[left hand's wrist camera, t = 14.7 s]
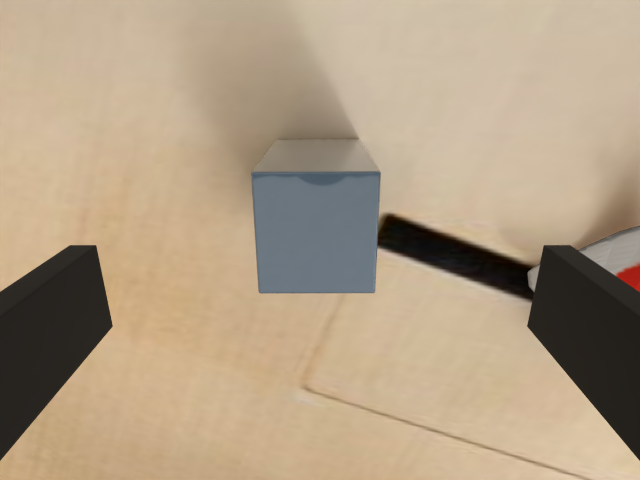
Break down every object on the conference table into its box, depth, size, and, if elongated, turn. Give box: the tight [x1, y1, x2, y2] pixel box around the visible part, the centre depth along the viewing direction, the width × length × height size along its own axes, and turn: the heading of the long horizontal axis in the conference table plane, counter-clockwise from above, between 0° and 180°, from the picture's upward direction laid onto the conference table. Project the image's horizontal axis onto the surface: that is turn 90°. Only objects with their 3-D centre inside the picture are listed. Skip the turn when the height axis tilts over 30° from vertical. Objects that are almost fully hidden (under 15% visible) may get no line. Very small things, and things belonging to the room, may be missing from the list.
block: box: [251, 139, 381, 293], centre depth 22 cm, size 5×5×10 cm
